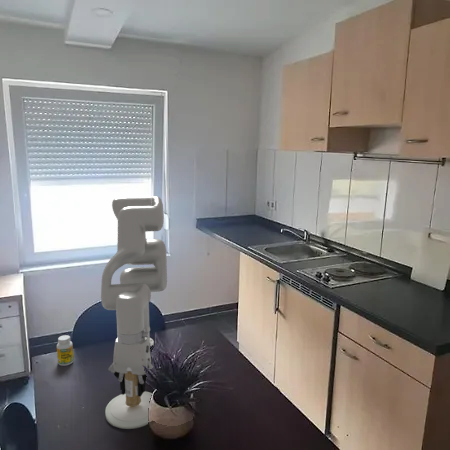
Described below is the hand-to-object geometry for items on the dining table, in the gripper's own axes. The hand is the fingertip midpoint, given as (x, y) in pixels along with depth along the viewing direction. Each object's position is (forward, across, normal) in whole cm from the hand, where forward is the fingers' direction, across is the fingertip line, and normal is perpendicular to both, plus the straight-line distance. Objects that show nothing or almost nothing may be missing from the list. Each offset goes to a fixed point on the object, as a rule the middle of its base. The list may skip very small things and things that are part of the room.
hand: (133, 392), depth 120 cm
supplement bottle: (+6, +34, -22) cm, 41 cm away
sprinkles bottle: (+4, 0, 0) cm, 4 cm away
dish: (+6, 0, 0) cm, 6 cm away
